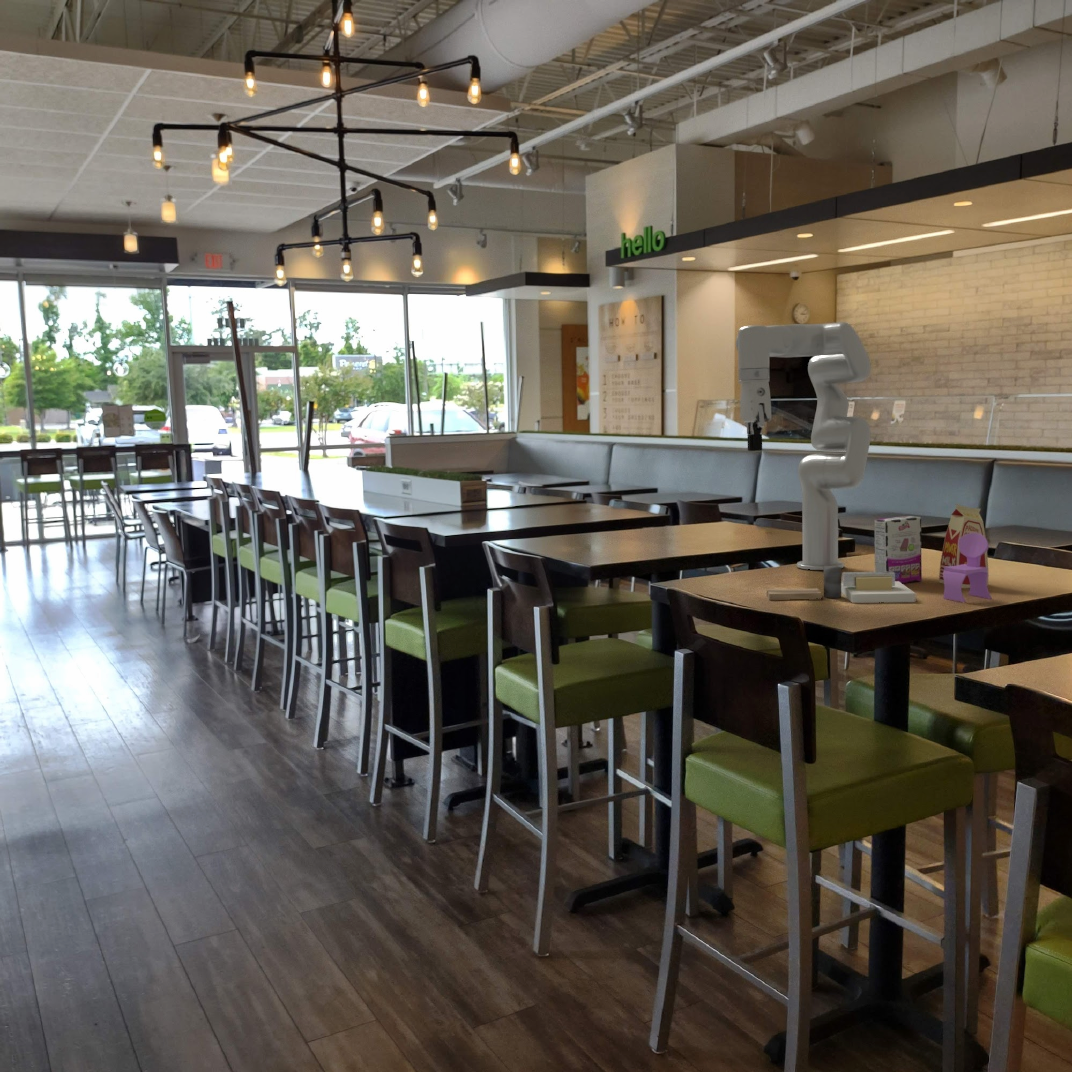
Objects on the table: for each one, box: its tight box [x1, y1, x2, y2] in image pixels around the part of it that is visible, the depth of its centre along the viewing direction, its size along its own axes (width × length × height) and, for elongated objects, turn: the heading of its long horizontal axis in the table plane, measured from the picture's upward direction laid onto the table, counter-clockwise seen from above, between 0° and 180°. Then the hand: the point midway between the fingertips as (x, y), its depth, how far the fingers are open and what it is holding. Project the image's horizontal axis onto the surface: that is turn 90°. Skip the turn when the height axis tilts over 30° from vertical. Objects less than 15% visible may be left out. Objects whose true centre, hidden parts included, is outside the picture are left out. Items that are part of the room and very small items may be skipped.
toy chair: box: [942, 533, 993, 603], centre depth 230 cm, size 8×9×15 cm
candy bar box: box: [873, 515, 923, 584], centre depth 254 cm, size 11×5×16 cm, turn 112°
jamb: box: [766, 566, 842, 601], centre depth 240 cm, size 6×17×7 cm, turn 83°
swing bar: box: [841, 571, 895, 587], centre depth 238 cm, size 12×2×3 cm, turn 83°
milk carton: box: [938, 503, 990, 589], centre depth 248 cm, size 9×9×20 cm
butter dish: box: [841, 577, 916, 604], centre depth 238 cm, size 16×14×5 cm
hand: (754, 450), depth 253 cm, fingers closed
